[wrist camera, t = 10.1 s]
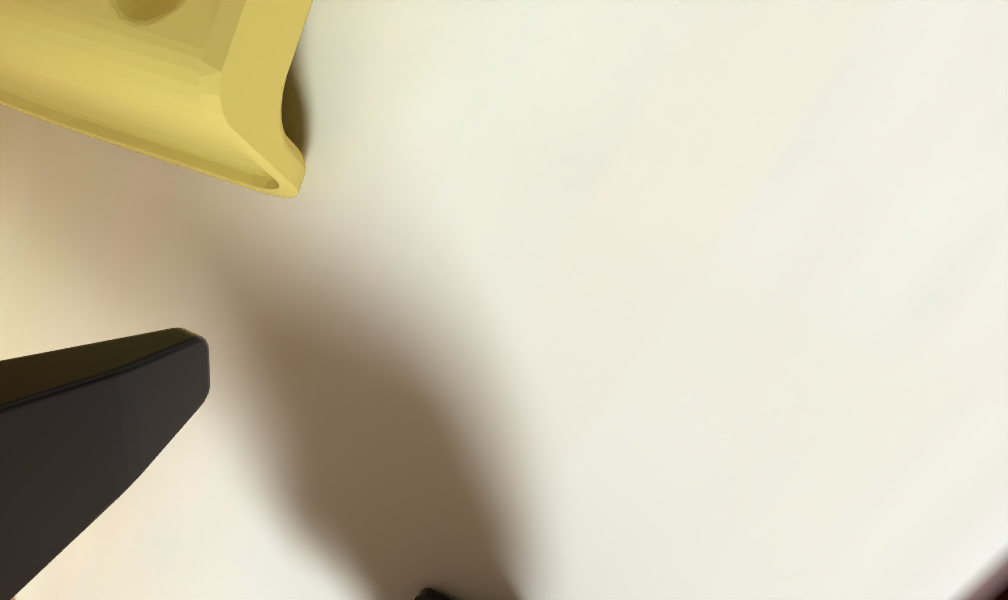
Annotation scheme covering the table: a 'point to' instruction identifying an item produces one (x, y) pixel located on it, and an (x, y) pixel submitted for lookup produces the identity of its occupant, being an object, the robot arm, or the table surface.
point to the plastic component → (163, 79)
